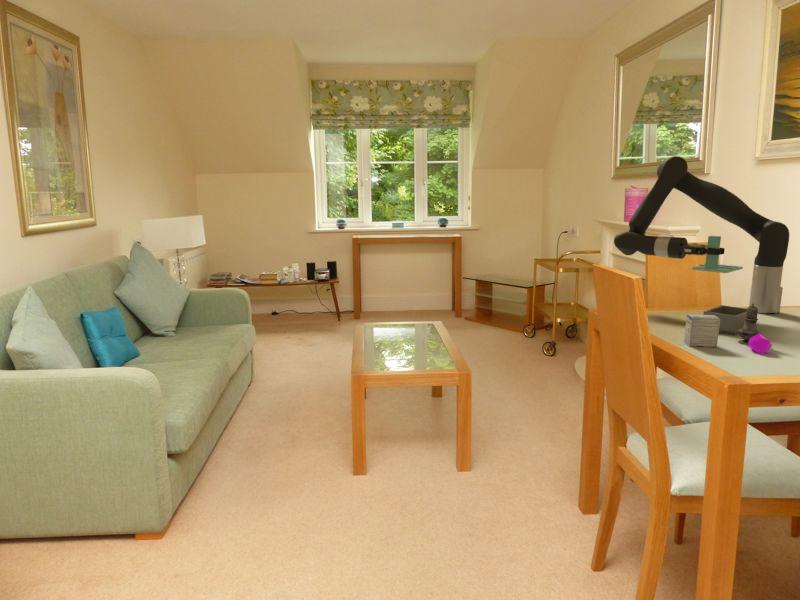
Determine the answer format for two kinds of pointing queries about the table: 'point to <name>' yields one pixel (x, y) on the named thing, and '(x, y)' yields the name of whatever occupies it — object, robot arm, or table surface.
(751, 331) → the grey chess bishop
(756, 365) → the table surface
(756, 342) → the magenta icosahedron
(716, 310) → the tub
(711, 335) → the medicine box
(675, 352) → the table surface
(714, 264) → the lid
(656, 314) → the table surface
